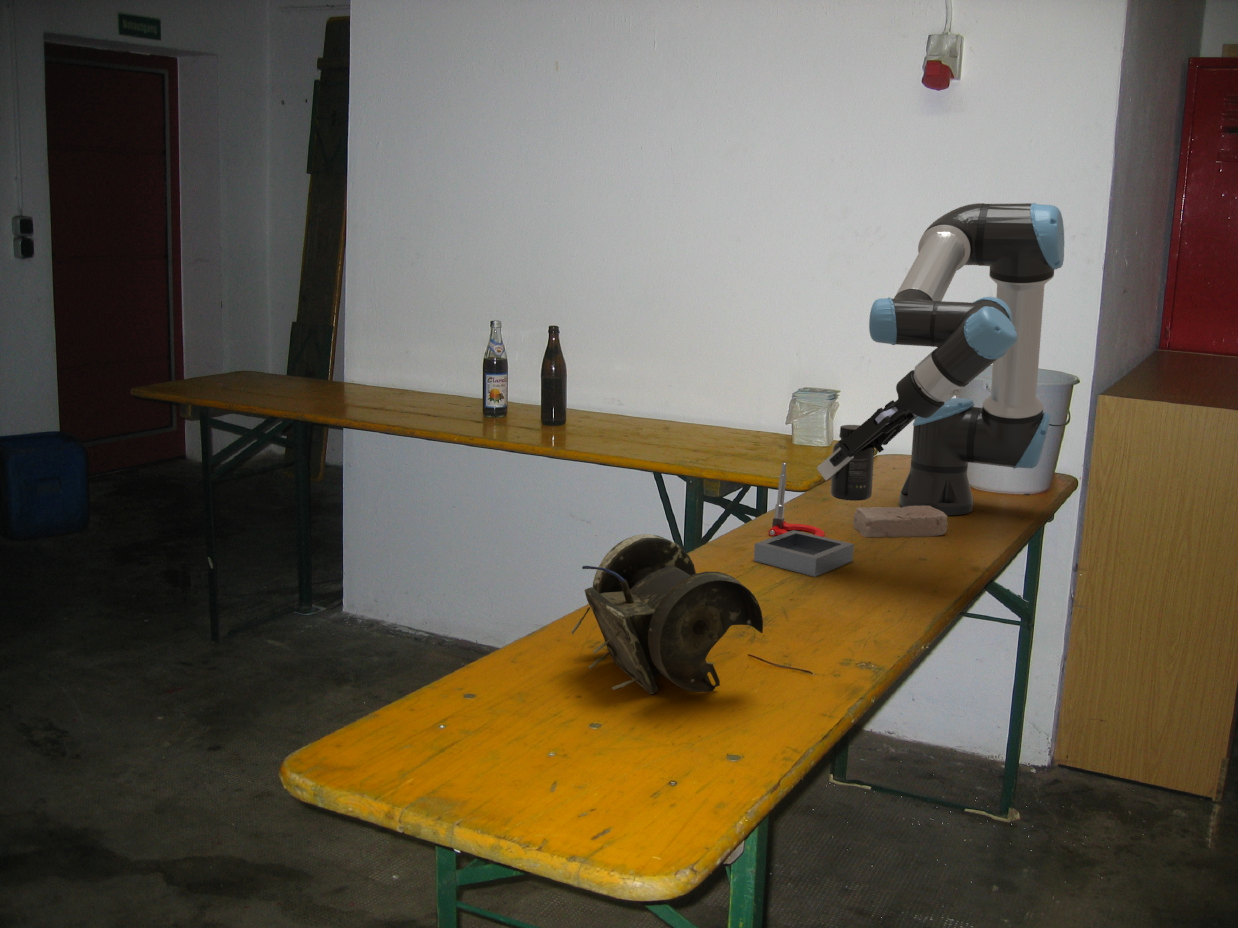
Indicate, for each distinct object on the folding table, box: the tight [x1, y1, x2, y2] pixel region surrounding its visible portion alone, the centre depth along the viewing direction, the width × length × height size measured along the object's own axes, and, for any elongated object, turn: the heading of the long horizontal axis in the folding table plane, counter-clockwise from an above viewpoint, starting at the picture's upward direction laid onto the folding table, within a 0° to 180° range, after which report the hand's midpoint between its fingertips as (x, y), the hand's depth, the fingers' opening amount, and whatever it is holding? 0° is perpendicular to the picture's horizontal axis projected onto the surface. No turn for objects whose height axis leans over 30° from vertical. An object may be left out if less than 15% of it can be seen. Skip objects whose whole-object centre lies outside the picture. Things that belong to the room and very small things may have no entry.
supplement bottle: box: [830, 424, 875, 502], centre depth 184 cm, size 7×7×12 cm
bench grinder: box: [570, 533, 764, 695], centre depth 140 cm, size 20×22×20 cm
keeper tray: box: [753, 530, 855, 577], centre depth 192 cm, size 12×12×3 cm
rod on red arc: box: [768, 462, 826, 538], centre depth 207 cm, size 9×14×10 cm
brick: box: [852, 506, 948, 538], centre depth 212 cm, size 17×8×5 cm, turn 97°
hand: (833, 470), depth 186 cm, fingers closed on supplement bottle, 7 cm apart
